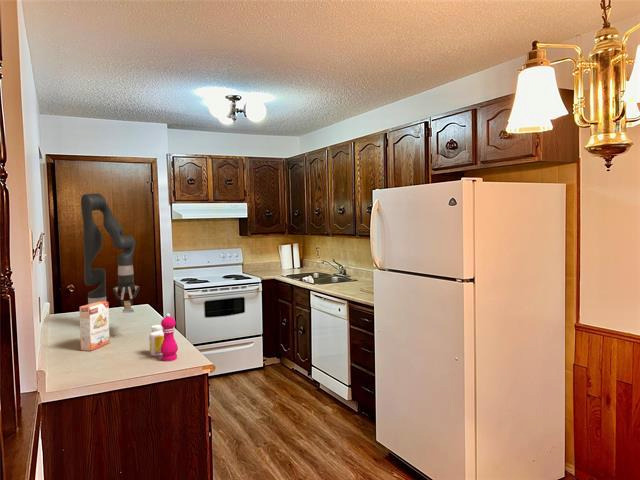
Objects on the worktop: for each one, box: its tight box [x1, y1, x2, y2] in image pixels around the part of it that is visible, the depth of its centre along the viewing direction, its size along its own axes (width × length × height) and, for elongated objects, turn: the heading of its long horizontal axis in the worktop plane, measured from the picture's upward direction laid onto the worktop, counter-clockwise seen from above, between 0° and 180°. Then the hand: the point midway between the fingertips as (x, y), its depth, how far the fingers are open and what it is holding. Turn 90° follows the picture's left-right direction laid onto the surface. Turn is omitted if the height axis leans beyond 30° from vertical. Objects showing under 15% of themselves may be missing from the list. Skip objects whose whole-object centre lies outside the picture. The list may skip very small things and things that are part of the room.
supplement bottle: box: [148, 324, 164, 357], centre depth 213 cm, size 7×7×13 cm
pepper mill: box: [160, 313, 179, 362], centre depth 206 cm, size 7×7×20 cm
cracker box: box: [79, 301, 111, 352], centre depth 227 cm, size 14×6×21 cm, turn 168°
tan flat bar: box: [122, 300, 135, 314], centre depth 245 cm, size 18×5×3 cm, turn 25°
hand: (127, 306), depth 251 cm, fingers closed on tan flat bar, 3 cm apart
